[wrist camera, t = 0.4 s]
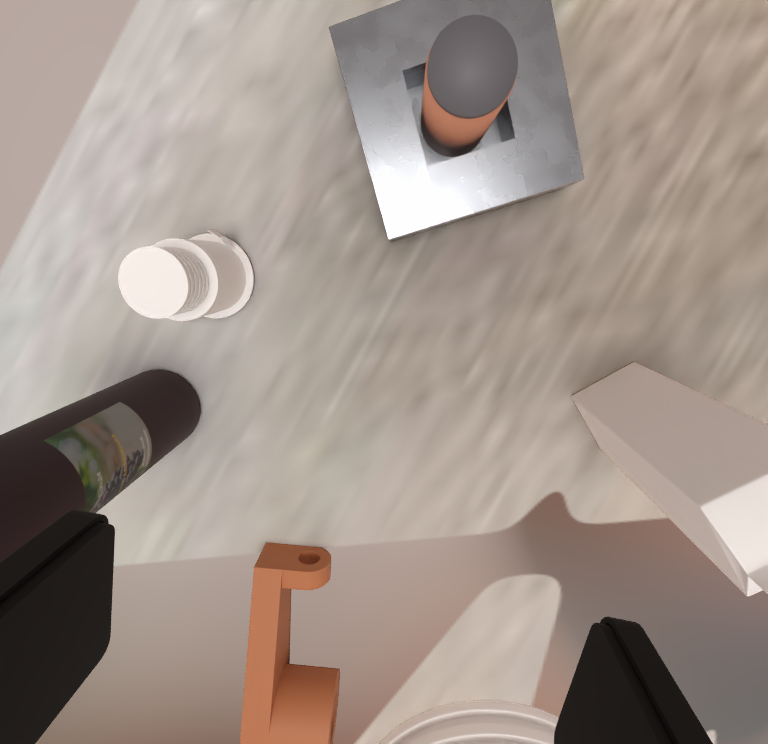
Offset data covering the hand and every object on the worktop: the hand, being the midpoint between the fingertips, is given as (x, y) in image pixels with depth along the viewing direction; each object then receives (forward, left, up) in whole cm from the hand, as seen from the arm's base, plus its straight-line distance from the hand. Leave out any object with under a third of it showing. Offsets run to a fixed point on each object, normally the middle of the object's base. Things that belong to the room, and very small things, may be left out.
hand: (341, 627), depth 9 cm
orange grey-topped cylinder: (-9, -15, -32) cm, 36 cm away
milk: (-17, +11, -33) cm, 39 cm away
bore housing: (-9, -15, -33) cm, 37 cm away
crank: (+17, +27, -33) cm, 46 cm away
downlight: (+13, -9, -33) cm, 37 cm away
